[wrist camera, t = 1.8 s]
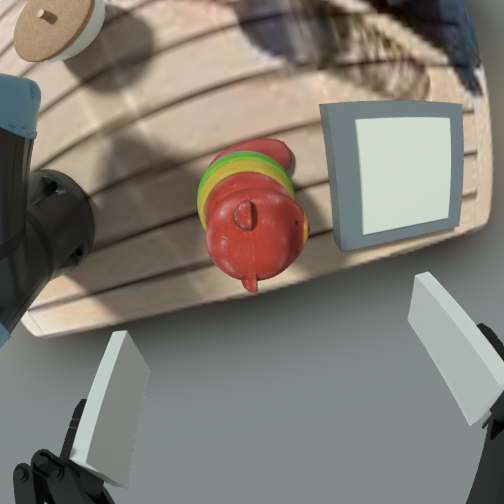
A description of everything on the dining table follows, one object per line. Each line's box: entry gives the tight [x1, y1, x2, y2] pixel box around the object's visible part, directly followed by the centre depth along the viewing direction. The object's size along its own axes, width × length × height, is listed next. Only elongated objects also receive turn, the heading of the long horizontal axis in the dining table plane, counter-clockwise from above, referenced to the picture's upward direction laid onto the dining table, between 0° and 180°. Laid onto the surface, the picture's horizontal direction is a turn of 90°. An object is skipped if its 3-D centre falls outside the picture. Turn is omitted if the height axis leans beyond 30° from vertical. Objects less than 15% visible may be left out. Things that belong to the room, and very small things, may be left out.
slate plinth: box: [319, 101, 464, 252], centre depth 32 cm, size 20×18×3 cm
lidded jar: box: [14, 0, 105, 62], centre depth 18 cm, size 11×11×9 cm
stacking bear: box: [197, 138, 310, 292], centre depth 26 cm, size 11×10×18 cm
